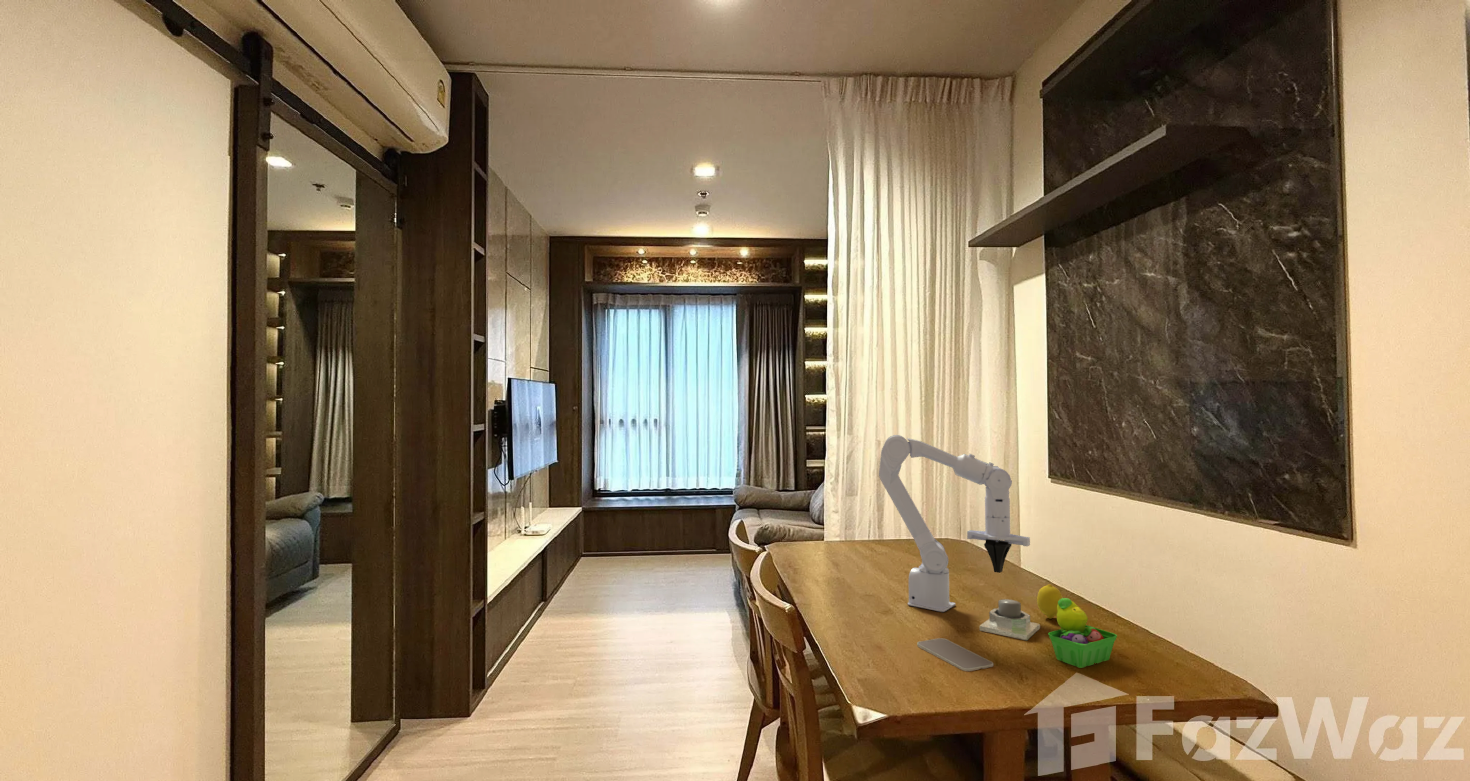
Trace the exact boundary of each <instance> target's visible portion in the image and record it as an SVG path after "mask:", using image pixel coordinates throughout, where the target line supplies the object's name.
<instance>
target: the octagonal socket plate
mask: <svg viewBox="0 0 1470 781" xmlns="http://www.w3.org/2000/svg"><path fill="white" fill-rule="evenodd" d="M988 613H989V615H988V616H989V618H988V619H986V620H985V621H984V622H983V623H981V624H980V625H979V631H981V632H986V633H990V634H996V635H1000V636H1005V637H1009V638H1014V639H1018V640H1023V641H1028V640H1029V639H1030V638H1032V637H1033V635H1034V634H1036V632H1038V631H1039V630H1040V629H1041V624H1040V623H1038V622H1031V615H1030V614H1028V613H1027V612H1025V611H1023V610H1021V618H1008V617H1003V616H999V607H997V608H993V609H991V610H989V612H988Z"/></svg>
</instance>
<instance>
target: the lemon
mask: <svg viewBox="0 0 1470 781" xmlns="http://www.w3.org/2000/svg"><path fill="white" fill-rule="evenodd" d="M1036 596H1037V598H1036V604H1037V607H1038V609H1039V611H1040V613H1042V614H1043V615H1046V617H1047V618H1048V619H1052V618H1054V617H1057V612H1058V610H1057V605H1058V601H1059V600H1060V599H1062V598H1063V596H1062V593H1061V591H1060V590H1059V589H1058V588H1057V587H1055V586H1053V585H1052V584H1049V583H1048V584H1047V585H1044V586H1042V587H1041V588H1039V590H1038V592H1037V595H1036Z"/></svg>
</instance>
